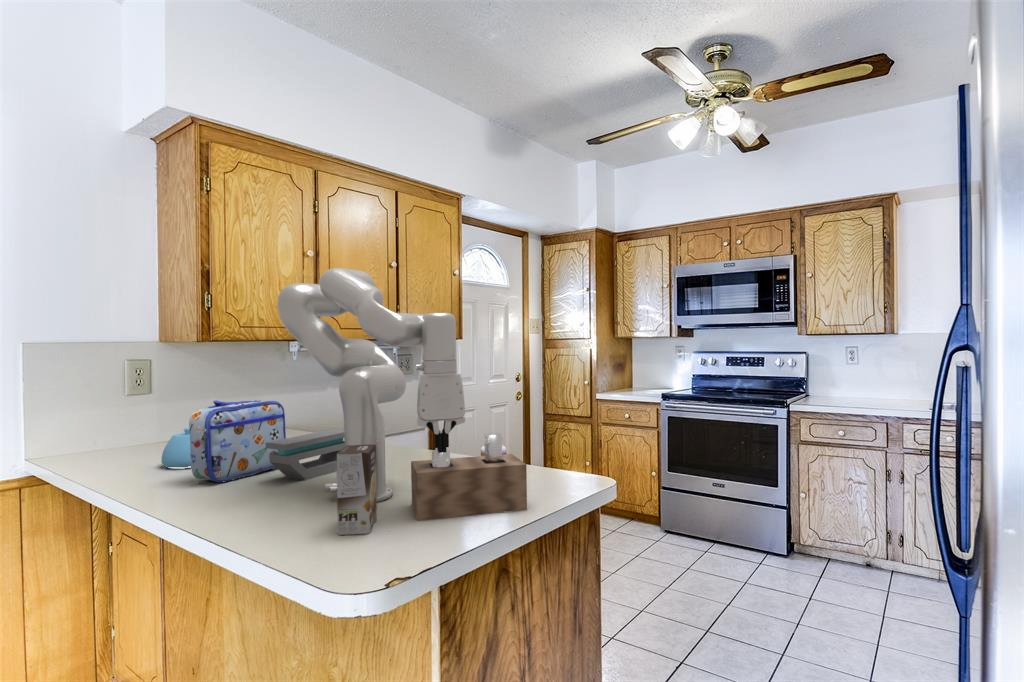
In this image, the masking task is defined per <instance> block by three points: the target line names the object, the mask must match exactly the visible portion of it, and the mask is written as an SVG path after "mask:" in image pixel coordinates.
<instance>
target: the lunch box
mask: <svg viewBox="0 0 1024 682" xmlns="http://www.w3.org/2000/svg"><path fill="white" fill-rule="evenodd" d="M212 403H213V404H214V405H211V406H208V407H207V406H206V407H204V408H200V409H197V410H195V411H194V412H192V414H191V415H190V417H189V420H188V428H189V432H190V455H191V474H192V476H193V477H194V478H196V480H206V481H212V482H215V483H224V482H223V481H228V480H232V479H236V478H239V479H241V478H240V477H243V478H246V477H245V476H247V477H251V476H254V474H255V475H257V474H259V473H263V472H266V471H268V470H271V469H274V468H276V467H275V466H274V465H273V464H271V463H270V460H269V454H271V453H276V452H278V450H277V449H269V448H266V442H271V441H276V440H281V439H286V438H287V437H286V435H287V434H286V413H285V409H284V407H283V404H282V403H280V402H279V401H276V400H265V401H261V400H253V401H252V400H241V401H231V402H227V401H220V400H213V401H212ZM250 475H251V476H250ZM236 480H237V479H236ZM232 481H233V480H232ZM228 482H229V481H228Z"/></svg>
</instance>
